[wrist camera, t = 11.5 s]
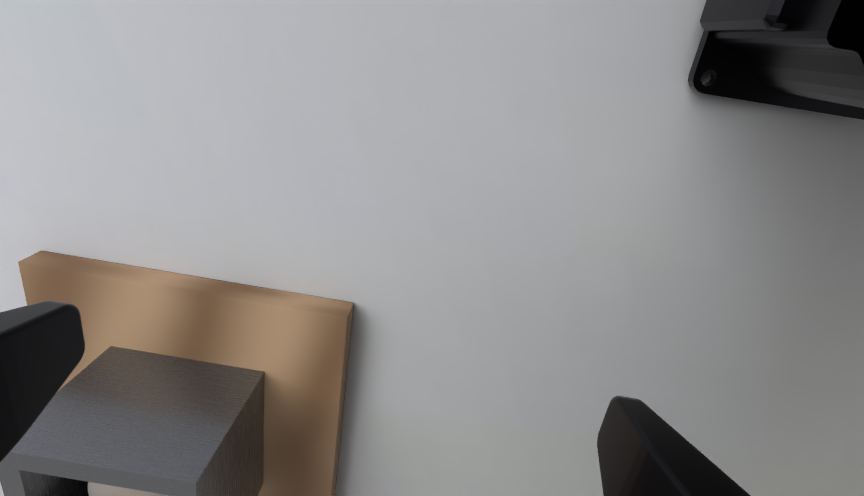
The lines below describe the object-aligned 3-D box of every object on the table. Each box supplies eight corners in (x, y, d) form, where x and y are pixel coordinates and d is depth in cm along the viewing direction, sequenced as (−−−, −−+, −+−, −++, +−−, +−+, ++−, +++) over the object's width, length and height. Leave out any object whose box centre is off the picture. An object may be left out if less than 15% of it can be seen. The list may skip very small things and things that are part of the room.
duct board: (353, 302, 22) (316, 387, 16) (332, 520, 27) (299, 635, 22) (41, 250, 22) (-95, 318, 17) (84, 478, 27) (-7, 582, 22)
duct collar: (264, 371, 22) (195, 483, 16) (263, 483, 25) (204, 610, 19) (110, 345, 22) (-9, 448, 17) (126, 460, 25) (29, 581, 19)
